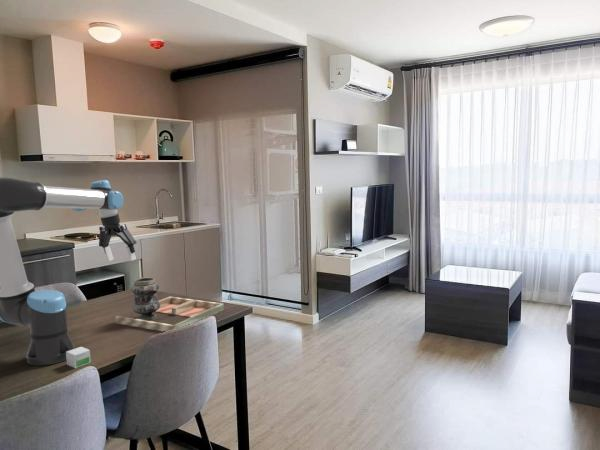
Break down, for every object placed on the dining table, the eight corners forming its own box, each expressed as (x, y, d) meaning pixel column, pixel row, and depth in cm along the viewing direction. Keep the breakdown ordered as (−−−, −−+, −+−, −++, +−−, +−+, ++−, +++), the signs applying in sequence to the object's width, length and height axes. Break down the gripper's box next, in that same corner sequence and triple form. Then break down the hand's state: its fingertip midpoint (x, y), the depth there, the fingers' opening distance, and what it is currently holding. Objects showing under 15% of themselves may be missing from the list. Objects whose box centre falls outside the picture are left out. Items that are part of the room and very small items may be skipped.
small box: (75, 369, 155) (74, 355, 154) (66, 365, 158) (65, 351, 158) (91, 363, 160) (90, 349, 159) (82, 359, 163) (81, 346, 162)
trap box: (115, 323, 201) (115, 316, 201) (170, 302, 232) (169, 296, 231) (174, 333, 187) (174, 326, 187) (223, 309, 218) (223, 303, 217)
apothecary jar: (155, 312, 215) (153, 274, 213) (165, 318, 206) (163, 279, 204) (129, 318, 208) (126, 279, 206) (138, 324, 198) (135, 283, 196)
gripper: (136, 211, 202) (148, 256, 207) (95, 214, 212) (107, 257, 218) (124, 216, 195) (137, 262, 201) (82, 219, 206) (95, 263, 211)
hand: (122, 260), depth 209 cm, fingers open, 13 cm apart
